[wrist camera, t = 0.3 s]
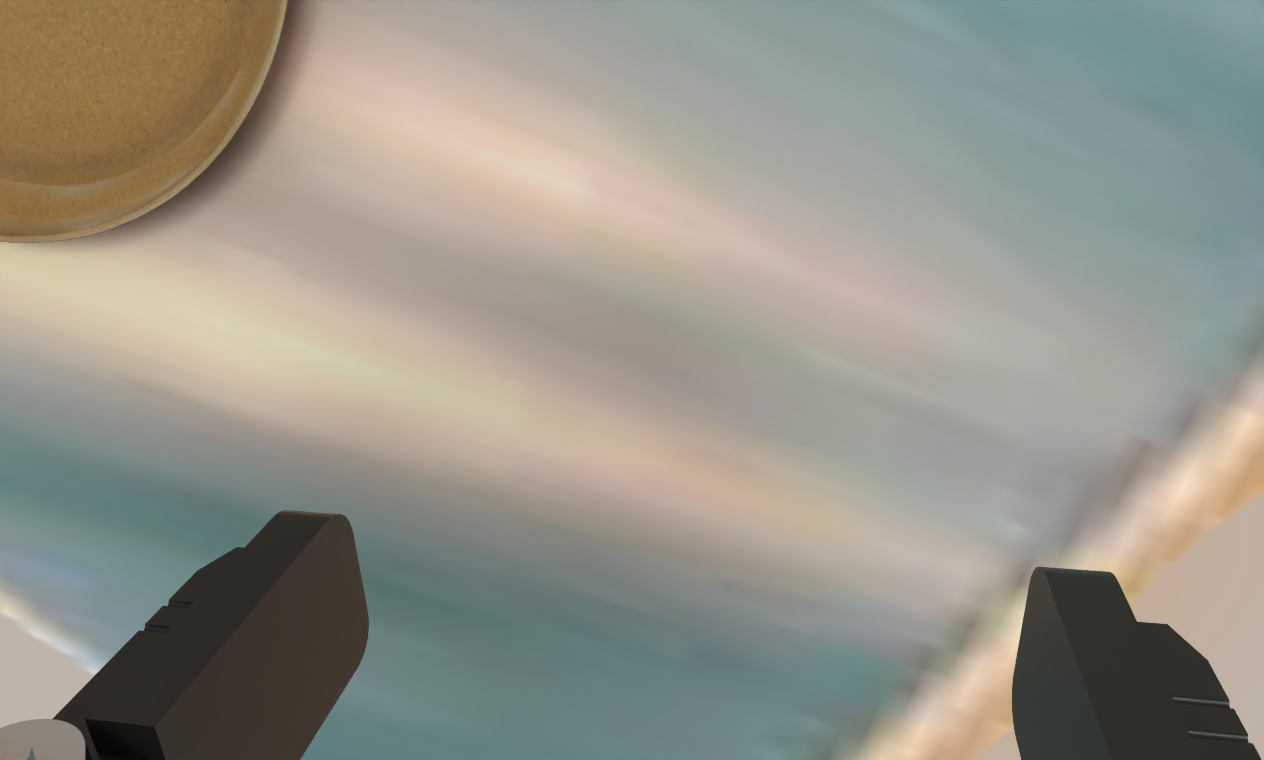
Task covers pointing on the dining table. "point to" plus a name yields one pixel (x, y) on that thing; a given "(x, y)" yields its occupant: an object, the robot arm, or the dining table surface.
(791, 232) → the dining table surface
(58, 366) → the dining table surface
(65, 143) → the plant saucer
